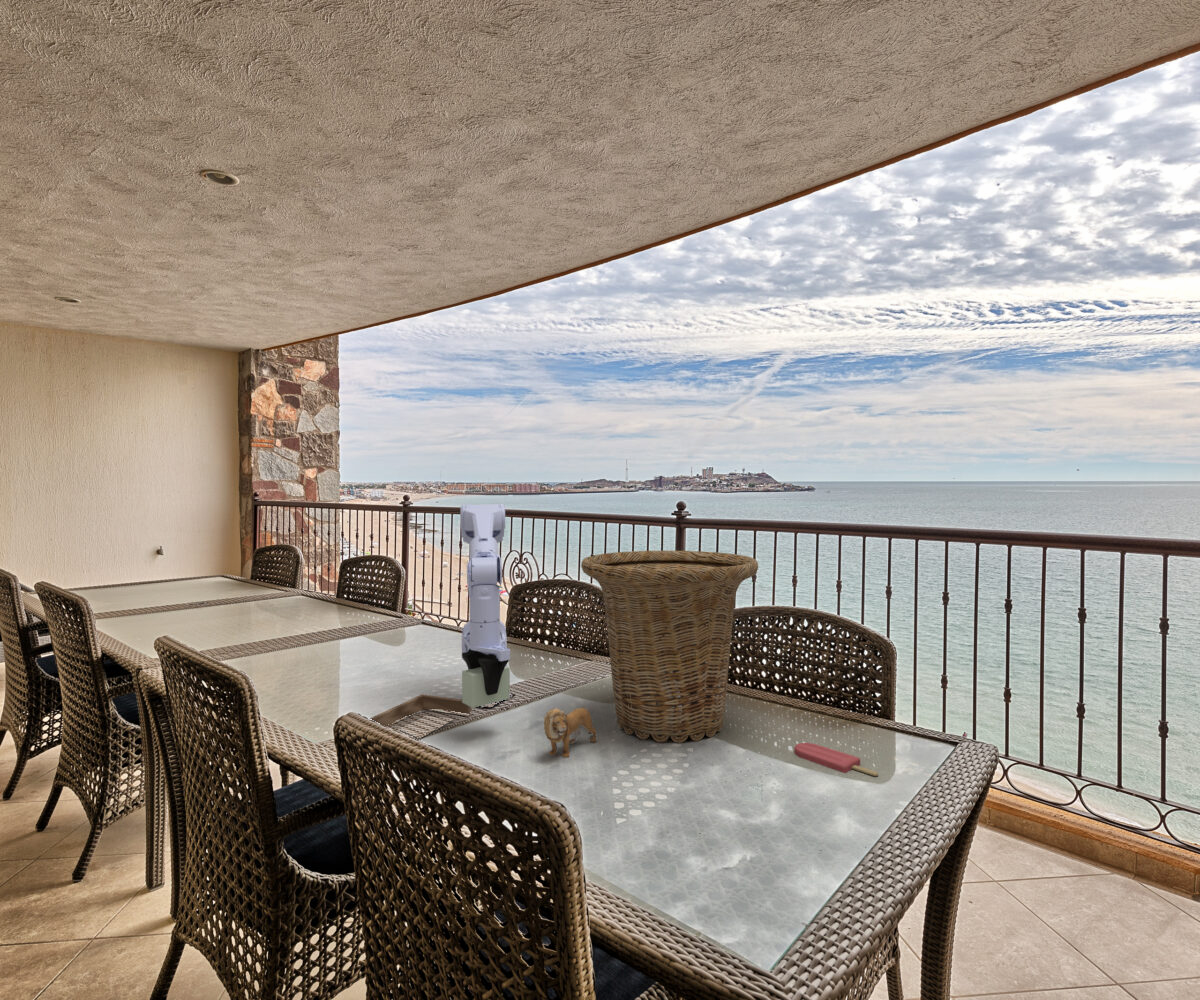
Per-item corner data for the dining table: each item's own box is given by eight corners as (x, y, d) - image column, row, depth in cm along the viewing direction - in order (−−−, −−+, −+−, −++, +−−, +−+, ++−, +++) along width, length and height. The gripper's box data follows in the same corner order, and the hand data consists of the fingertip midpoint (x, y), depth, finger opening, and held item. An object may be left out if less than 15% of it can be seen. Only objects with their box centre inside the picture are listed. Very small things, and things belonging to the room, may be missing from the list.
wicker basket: (761, 702, 145) (761, 551, 145) (754, 768, 112) (754, 571, 111) (607, 690, 155) (606, 549, 154) (558, 747, 121) (557, 566, 121)
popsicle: (869, 774, 106) (788, 747, 118) (869, 784, 106) (788, 756, 118) (885, 765, 110) (804, 739, 121) (885, 774, 110) (805, 748, 121)
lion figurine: (562, 767, 113) (562, 715, 113) (536, 761, 115) (535, 710, 115) (602, 738, 126) (602, 691, 126) (578, 733, 128) (577, 687, 128)
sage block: (462, 702, 125) (462, 671, 125) (498, 693, 130) (498, 663, 130) (472, 707, 122) (472, 675, 122) (509, 698, 127) (509, 667, 127)
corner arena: (422, 708, 144) (421, 694, 144) (471, 715, 139) (471, 701, 139) (370, 733, 129) (370, 718, 129) (423, 742, 124) (423, 726, 124)
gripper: (523, 623, 123) (524, 695, 123) (483, 612, 134) (484, 678, 134) (490, 628, 118) (491, 703, 119) (452, 616, 130) (452, 685, 130)
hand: (485, 691), depth 126 cm, fingers closed on sage block, 4 cm apart
